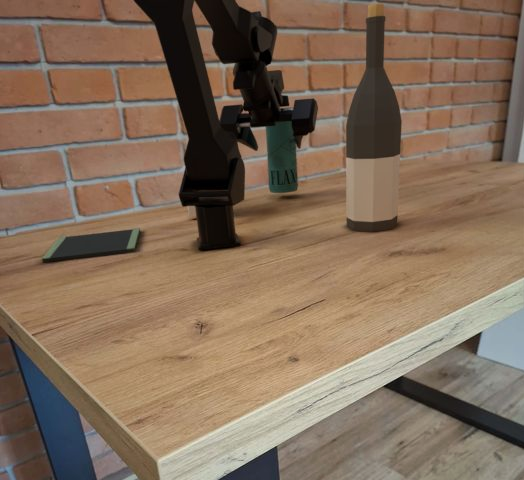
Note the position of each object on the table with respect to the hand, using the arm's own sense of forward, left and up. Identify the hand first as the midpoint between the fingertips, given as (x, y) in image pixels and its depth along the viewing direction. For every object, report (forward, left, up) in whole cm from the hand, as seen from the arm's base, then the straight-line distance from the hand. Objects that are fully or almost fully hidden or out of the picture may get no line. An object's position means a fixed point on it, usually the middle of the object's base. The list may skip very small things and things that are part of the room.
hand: (278, 147), depth 104 cm
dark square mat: (-23, +36, -10) cm, 44 cm away
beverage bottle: (+2, -1, -11) cm, 11 cm away
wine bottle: (-31, -9, -11) cm, 34 cm away
